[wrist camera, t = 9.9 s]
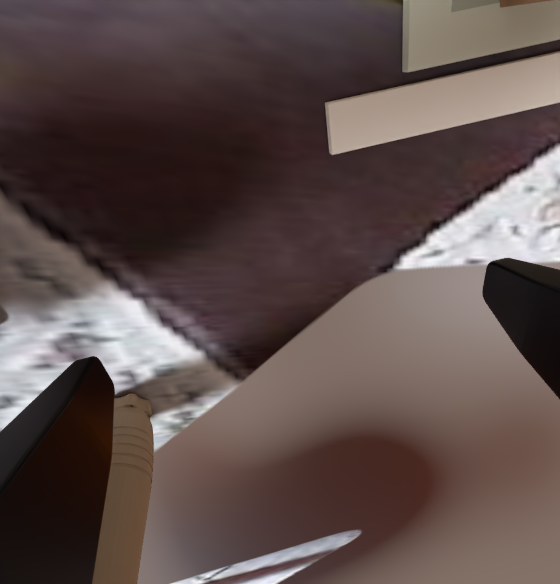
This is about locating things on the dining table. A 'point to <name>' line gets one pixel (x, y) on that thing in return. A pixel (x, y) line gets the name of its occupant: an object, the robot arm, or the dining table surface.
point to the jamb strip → (442, 102)
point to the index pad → (472, 29)
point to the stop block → (518, 2)
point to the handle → (126, 493)
